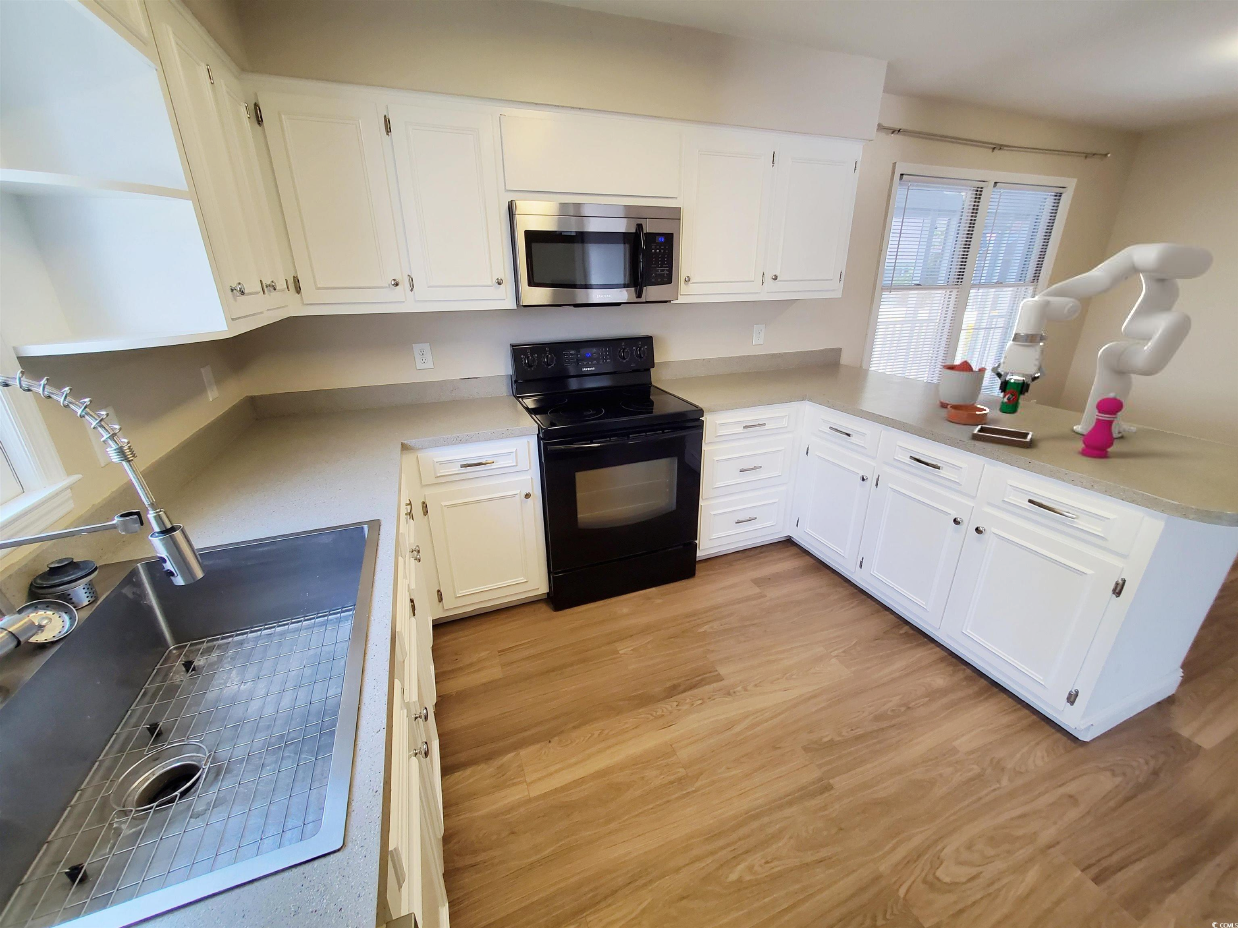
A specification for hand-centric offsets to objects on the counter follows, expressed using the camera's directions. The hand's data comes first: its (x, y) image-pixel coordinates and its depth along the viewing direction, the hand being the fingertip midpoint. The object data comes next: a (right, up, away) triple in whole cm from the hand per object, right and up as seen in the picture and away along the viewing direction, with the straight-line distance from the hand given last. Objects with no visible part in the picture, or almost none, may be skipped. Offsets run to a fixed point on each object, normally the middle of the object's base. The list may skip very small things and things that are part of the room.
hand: (1012, 393), depth 166 cm
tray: (+1, -16, +6) cm, 17 cm away
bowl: (+4, -7, +28) cm, 29 cm away
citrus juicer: (+14, +1, +47) cm, 49 cm away
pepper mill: (+17, -21, -10) cm, 29 cm away
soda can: (0, -7, +3) cm, 7 cm away
